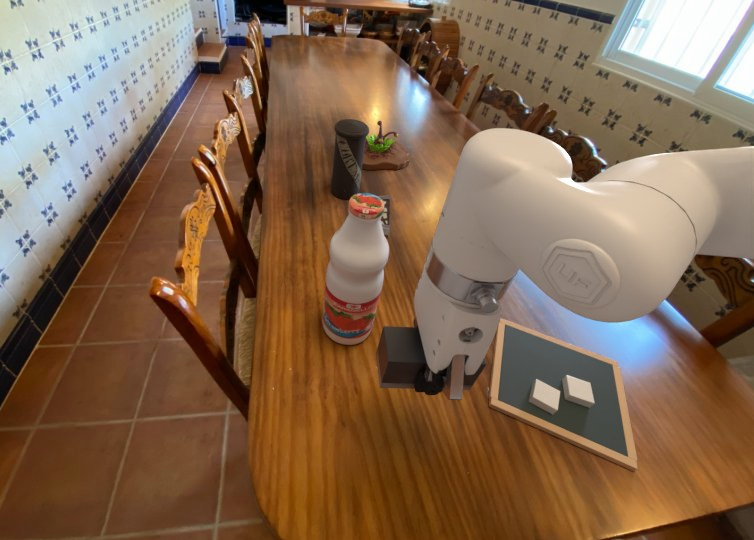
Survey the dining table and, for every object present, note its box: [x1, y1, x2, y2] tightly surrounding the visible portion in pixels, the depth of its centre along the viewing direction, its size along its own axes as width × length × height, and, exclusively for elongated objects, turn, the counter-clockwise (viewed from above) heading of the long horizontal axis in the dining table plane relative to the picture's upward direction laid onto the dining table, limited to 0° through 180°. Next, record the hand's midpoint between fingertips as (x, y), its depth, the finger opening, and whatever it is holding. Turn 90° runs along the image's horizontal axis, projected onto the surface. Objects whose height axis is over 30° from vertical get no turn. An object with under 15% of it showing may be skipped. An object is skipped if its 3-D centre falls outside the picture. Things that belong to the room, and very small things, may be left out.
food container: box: [378, 195, 392, 240], centre depth 82 cm, size 12×6×10 cm, turn 172°
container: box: [330, 118, 370, 200], centre depth 94 cm, size 9×9×20 cm
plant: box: [362, 120, 411, 171], centre depth 115 cm, size 20×20×11 cm
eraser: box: [375, 325, 487, 391], centre depth 43 cm, size 11×5×6 cm, turn 90°
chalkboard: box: [487, 317, 639, 472], centre depth 60 cm, size 20×18×1 cm
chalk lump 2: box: [562, 375, 595, 408], centre depth 57 cm, size 4×4×2 cm
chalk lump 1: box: [529, 379, 560, 415], centre depth 56 cm, size 4×4×2 cm
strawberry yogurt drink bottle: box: [321, 192, 390, 346], centre depth 58 cm, size 9×9×28 cm
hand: (422, 368), depth 44 cm, fingers closed on eraser, 4 cm apart
